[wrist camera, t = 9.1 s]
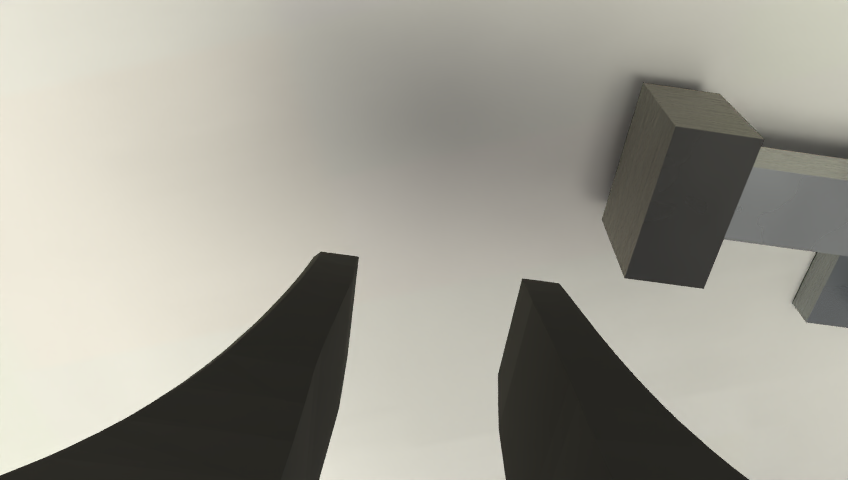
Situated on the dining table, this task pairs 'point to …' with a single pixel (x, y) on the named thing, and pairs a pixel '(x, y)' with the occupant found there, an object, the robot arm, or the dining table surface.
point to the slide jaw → (714, 190)
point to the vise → (825, 291)
